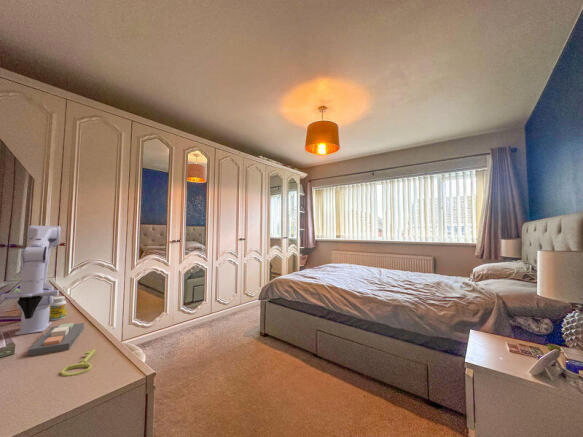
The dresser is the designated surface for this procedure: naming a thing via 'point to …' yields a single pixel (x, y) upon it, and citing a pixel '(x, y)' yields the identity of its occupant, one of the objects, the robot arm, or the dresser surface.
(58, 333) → the cream key
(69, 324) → the sage key
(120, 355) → the dresser surface
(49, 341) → the terracotta key
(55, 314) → the supplement bottle
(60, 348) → the grey flat frame
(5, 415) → the dresser surface
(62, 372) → the key
